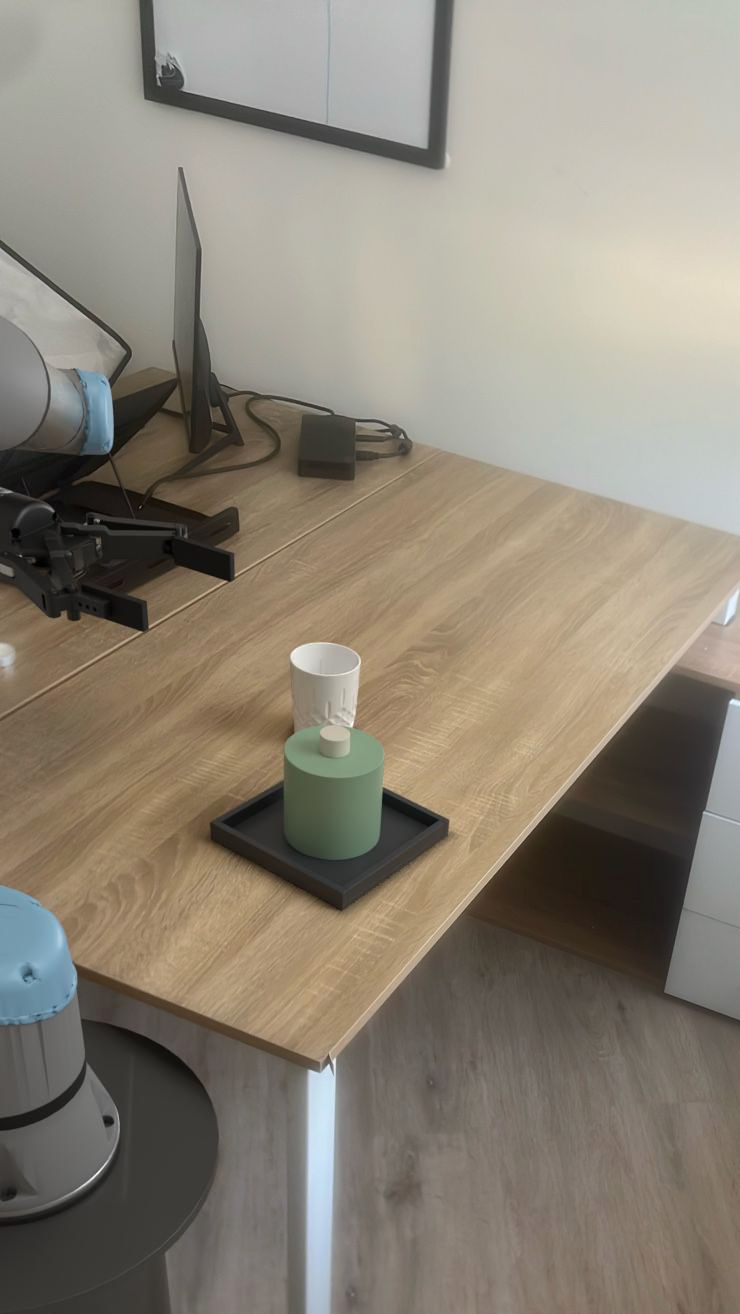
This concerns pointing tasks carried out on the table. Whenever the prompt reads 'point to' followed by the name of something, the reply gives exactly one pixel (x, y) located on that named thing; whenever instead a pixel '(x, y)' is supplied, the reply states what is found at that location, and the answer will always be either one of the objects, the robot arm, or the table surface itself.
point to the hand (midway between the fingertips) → (191, 591)
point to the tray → (335, 881)
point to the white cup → (324, 685)
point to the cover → (332, 791)
